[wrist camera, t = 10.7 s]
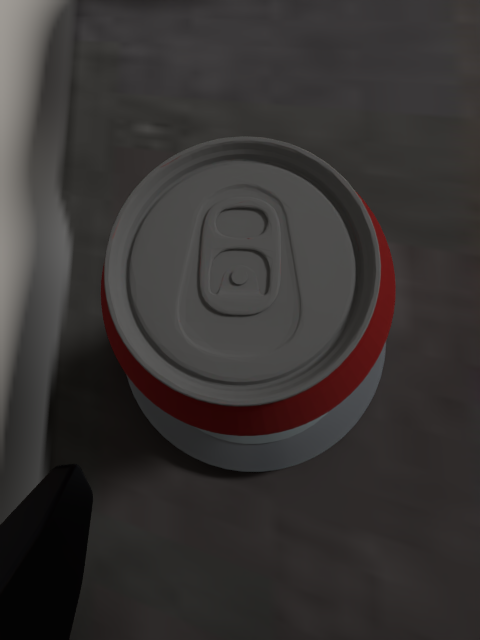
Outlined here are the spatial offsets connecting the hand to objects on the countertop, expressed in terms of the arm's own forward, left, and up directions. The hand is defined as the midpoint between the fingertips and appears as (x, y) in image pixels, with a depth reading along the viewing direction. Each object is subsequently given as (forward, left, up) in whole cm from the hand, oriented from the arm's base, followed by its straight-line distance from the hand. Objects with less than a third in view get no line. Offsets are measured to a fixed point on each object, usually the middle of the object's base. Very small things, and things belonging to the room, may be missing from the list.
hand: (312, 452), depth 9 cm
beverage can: (+3, +1, -12) cm, 12 cm away
